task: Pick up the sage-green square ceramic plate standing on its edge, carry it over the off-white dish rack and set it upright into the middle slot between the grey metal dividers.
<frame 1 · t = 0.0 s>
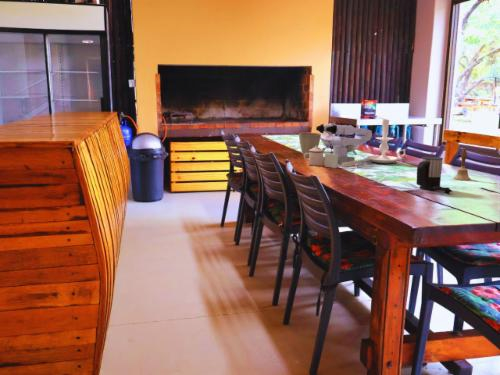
hand: (321, 128, 282), 22 cm above the table, tool horizontal, fingers open, 7 cm apart
plant pot: (309, 157, 315), on the table
hand bell: (461, 179, 238), on the table
candlestick: (386, 163, 292), on the table
teacup with lid: (313, 165, 282), on the table
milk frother: (435, 191, 211), on the table
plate: (330, 167, 274), on the table
dish rack: (341, 164, 283), on the table
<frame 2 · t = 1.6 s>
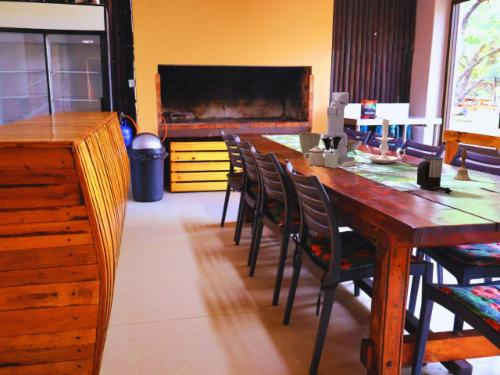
hand: (331, 149, 272), 10 cm above the table, tool pointing down, fingers open, 7 cm apart
nothing on the table moved.
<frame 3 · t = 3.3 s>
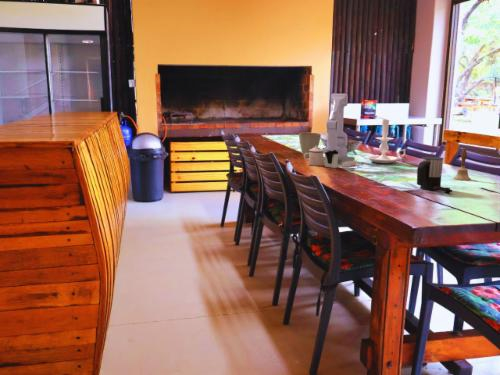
hand: (331, 163, 274), 2 cm above the table, tool pointing down, fingers closed on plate, 2 cm apart
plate: (330, 167, 274), on the table, touching gripper
everything else where it was.
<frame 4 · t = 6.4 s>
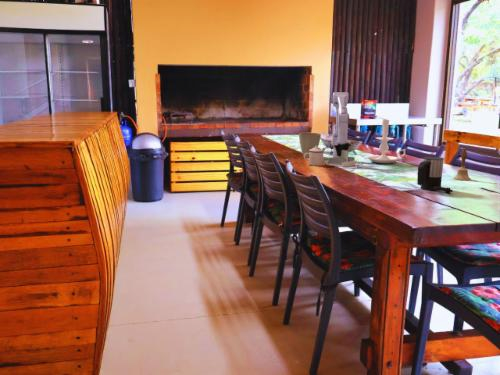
hand: (341, 156, 282), 5 cm above the table, tool pointing down, fingers open, 5 cm apart
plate: (341, 163, 283), point 1 cm above the table, touching dish rack
everything else where it was.
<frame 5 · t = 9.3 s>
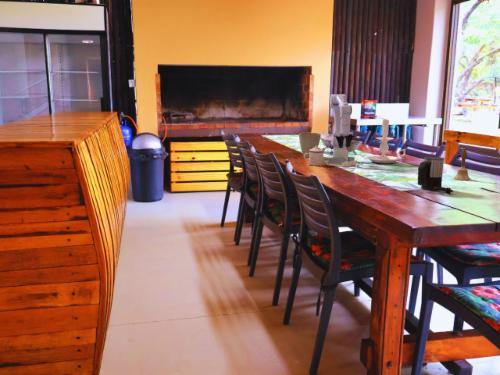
hand: (344, 147, 283), 10 cm above the table, tool pointing down, fingers open, 7 cm apart
nothing on the table moved.
at the end: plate 0.1 cm off-centre on the dish rack, point 1.0 cm above the dish rack's base; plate tilted 0°; the gripper is holding nothing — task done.
